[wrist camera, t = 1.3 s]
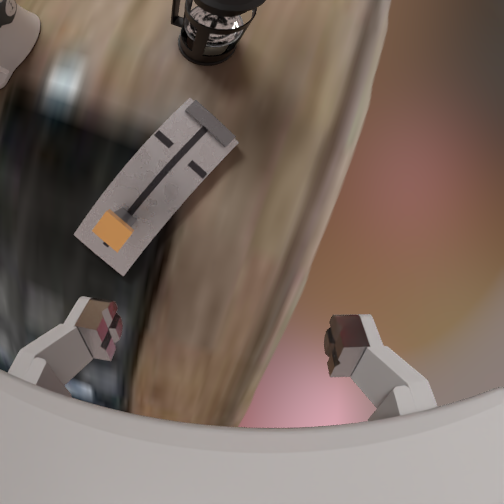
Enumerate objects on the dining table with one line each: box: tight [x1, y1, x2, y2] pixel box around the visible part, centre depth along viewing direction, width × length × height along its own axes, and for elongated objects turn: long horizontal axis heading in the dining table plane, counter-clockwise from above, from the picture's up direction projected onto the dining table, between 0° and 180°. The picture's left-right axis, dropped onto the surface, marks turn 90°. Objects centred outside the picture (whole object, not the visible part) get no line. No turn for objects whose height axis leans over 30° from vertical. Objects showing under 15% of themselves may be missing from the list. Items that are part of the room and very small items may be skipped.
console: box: [74, 98, 239, 276], centre depth 39 cm, size 26×10×3 cm, turn 137°
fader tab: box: [92, 208, 136, 253], centre depth 33 cm, size 3×4×10 cm
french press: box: [171, 0, 266, 66], centre depth 25 cm, size 12×9×23 cm
